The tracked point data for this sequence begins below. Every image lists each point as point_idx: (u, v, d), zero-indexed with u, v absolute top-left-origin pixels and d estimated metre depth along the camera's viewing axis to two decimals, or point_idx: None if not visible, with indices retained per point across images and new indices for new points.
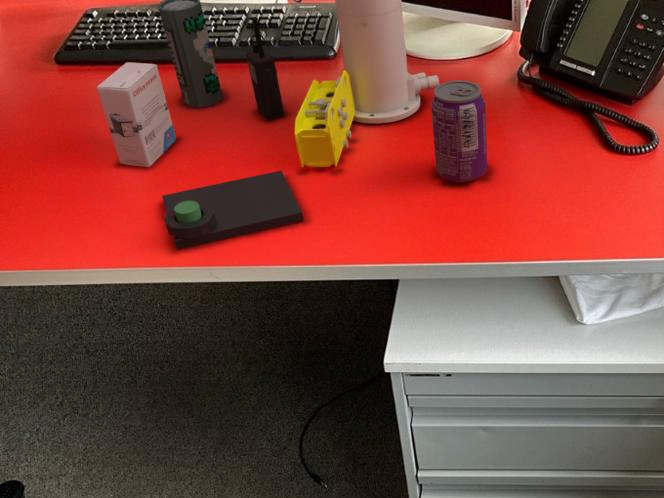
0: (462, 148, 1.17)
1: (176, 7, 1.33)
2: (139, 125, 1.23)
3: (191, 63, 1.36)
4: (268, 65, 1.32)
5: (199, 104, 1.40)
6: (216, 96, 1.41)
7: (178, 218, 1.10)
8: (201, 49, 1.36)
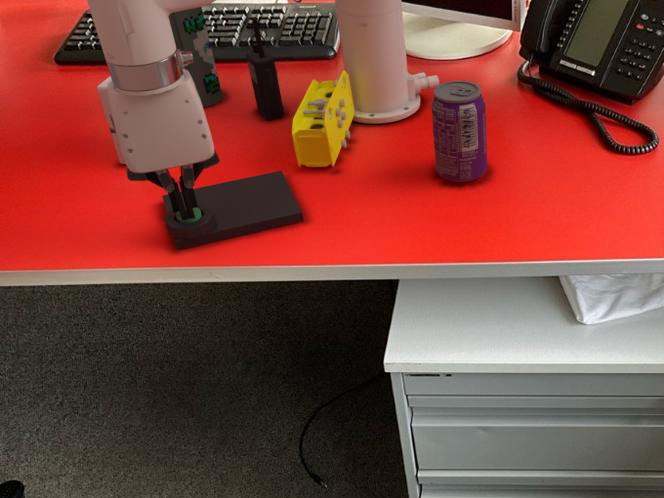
0: (462, 148, 1.17)
1: None
2: None
3: None
4: (268, 65, 1.32)
5: None
6: (216, 96, 1.41)
7: None
8: (201, 49, 1.36)
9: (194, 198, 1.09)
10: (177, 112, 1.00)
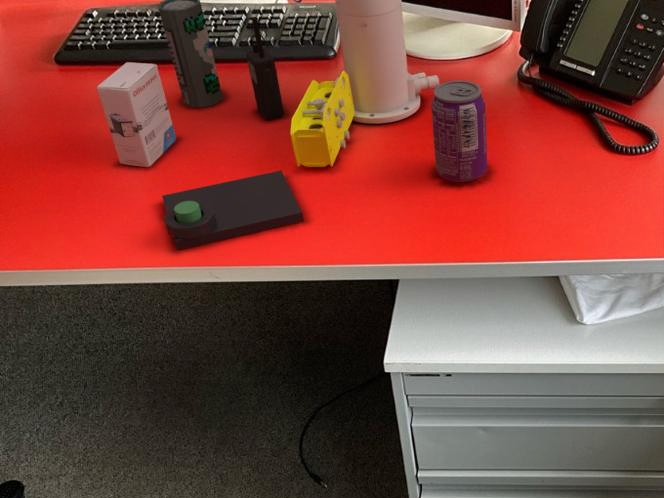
0: (462, 148, 1.17)
1: (176, 7, 1.33)
2: (139, 125, 1.23)
3: (191, 63, 1.36)
4: (268, 65, 1.32)
5: (199, 104, 1.40)
6: (216, 96, 1.41)
7: (178, 218, 1.10)
8: (201, 49, 1.36)
9: None
10: None
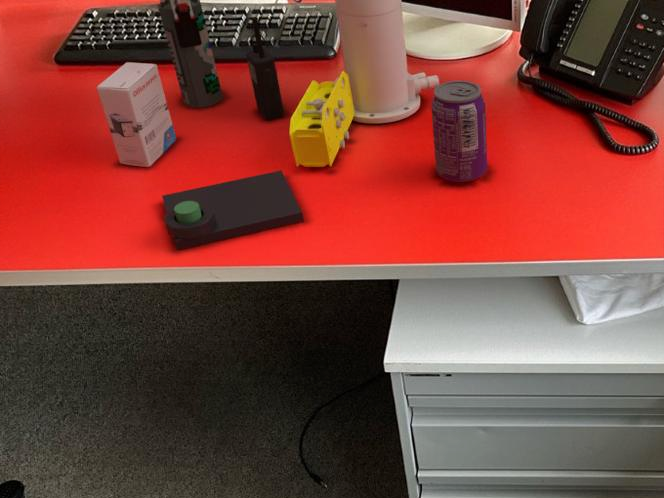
0: (462, 148, 1.17)
1: None
2: (139, 125, 1.23)
3: (191, 63, 1.36)
4: (268, 65, 1.32)
5: (199, 104, 1.40)
6: (216, 96, 1.41)
7: (178, 218, 1.10)
8: (201, 49, 1.36)
9: None
10: None
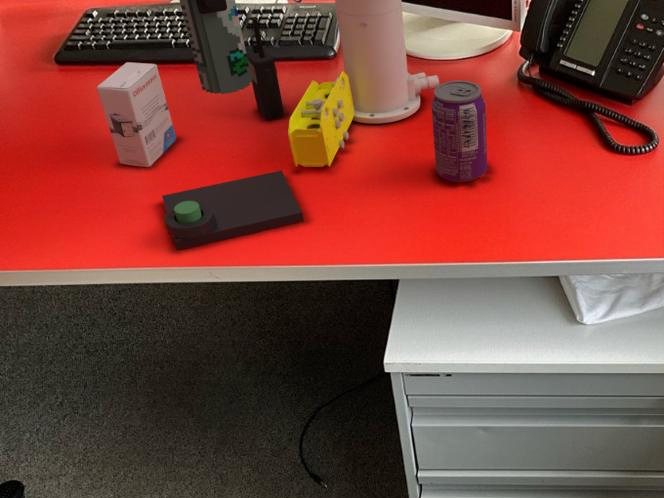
0: (462, 148, 1.17)
1: None
2: (139, 125, 1.23)
3: (212, 35, 1.04)
4: (268, 65, 1.32)
5: (222, 89, 1.08)
6: (244, 79, 1.09)
7: (178, 218, 1.10)
8: (225, 16, 1.03)
9: None
10: None
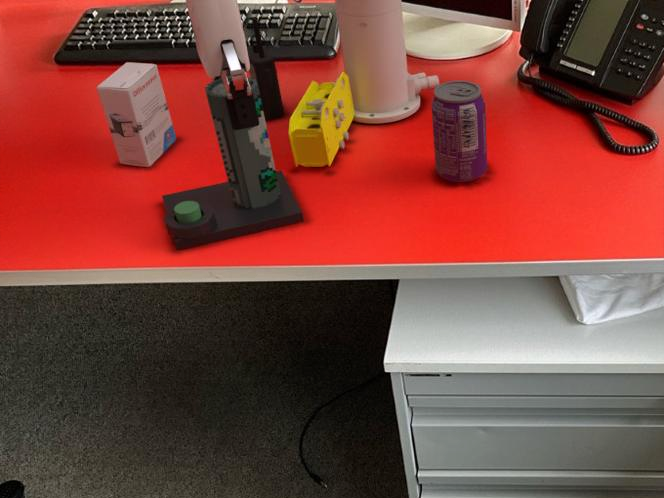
0: (462, 148, 1.17)
1: None
2: (139, 125, 1.23)
3: (245, 157, 1.10)
4: (268, 65, 1.32)
5: (252, 204, 1.15)
6: (273, 193, 1.16)
7: (178, 218, 1.10)
8: (257, 140, 1.10)
9: None
10: None
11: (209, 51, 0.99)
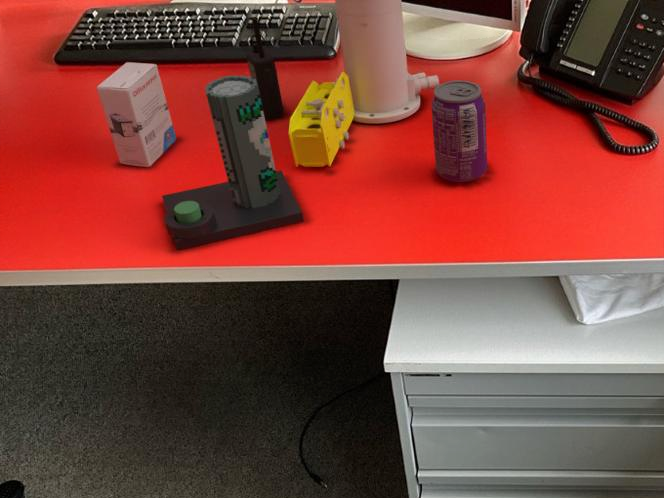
0: (462, 148, 1.17)
1: (228, 91, 1.07)
2: (139, 125, 1.23)
3: (245, 157, 1.10)
4: (268, 65, 1.32)
5: (252, 204, 1.15)
6: (273, 193, 1.16)
7: (178, 218, 1.10)
8: (257, 140, 1.10)
9: None
10: None
11: None
